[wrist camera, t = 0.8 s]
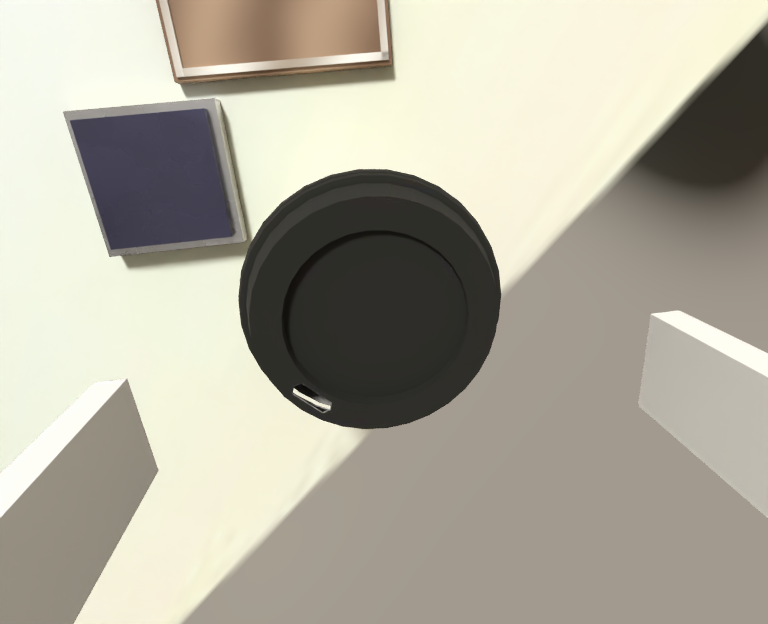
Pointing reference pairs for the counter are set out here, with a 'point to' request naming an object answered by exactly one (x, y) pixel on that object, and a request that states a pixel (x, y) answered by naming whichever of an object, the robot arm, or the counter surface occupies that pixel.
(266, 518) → the counter surface
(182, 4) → the board
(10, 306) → the counter surface
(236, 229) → the ink pad
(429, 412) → the coffee cup
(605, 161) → the counter surface
